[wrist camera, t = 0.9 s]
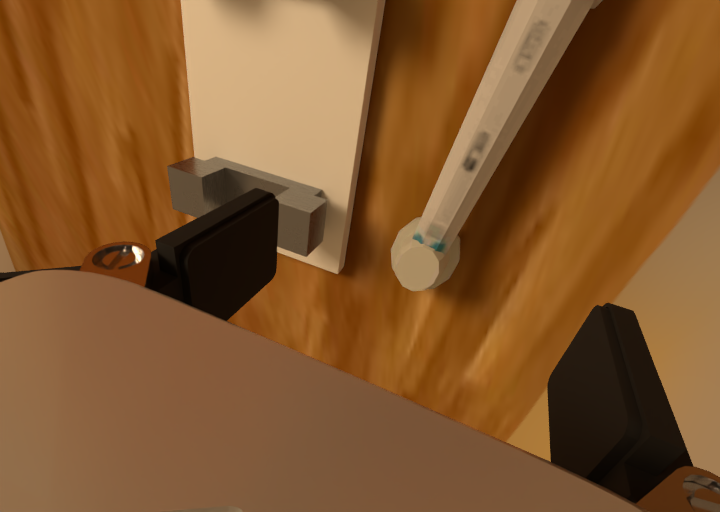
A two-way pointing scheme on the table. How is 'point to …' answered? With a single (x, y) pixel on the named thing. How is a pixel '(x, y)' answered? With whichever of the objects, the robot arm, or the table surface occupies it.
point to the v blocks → (230, 180)
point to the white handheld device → (486, 135)
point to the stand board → (286, 95)
